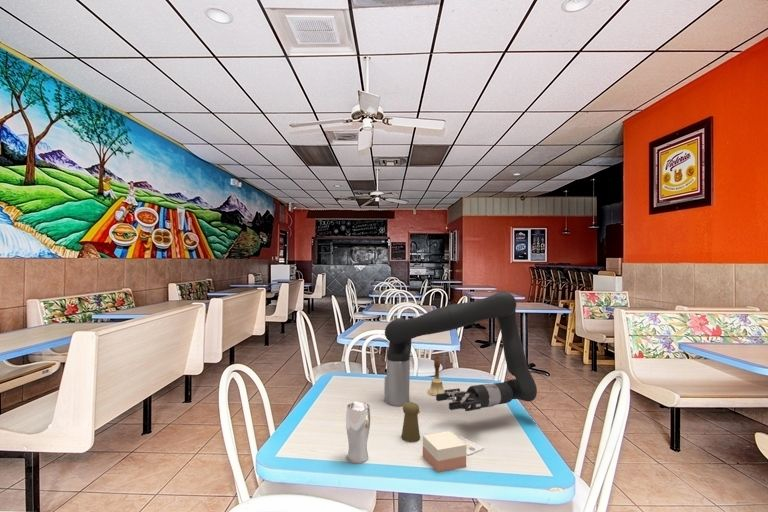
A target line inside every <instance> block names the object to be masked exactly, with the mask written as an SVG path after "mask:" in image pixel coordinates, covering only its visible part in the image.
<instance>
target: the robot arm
mask: <svg viewBox="0 0 768 512" xmlns="http://www.w3.org/2000/svg"><path fill="white" fill-rule="evenodd" d="M516 309H517V299H516V298H515V296H514V295H513V294H511V293H510V292H508V291H503V290H502V291H498V292H496V293H494V294H492V295H490V296H486V297H485V298H481V299H478V300H475V301H469V302H461V303H454V304H449V305H446V306H442V307H438V308H435V309H433V310H430V311H428V312H426V313H424V314H421V315H419V316H416V317H412V318H407V319H405V318H403V317H398V318H395V319H393V320H392V321H390V322H388V324H387V325H386V327H385V330H384V336H385V338H386V340H387V341H389V342H388V350H387V352H386V376H385V377H384V381H383V382H384V386H383V387H384V389H383V391H384V392H383V394H384V396H383V399H384V400H383V402H385V403H387V404H388V405H391V406H395V407H396V406H398V407H399V406H402V407H403V406H404V404H405V403H408V402H410V379H411V378H410V370H411V369H410V366H411V364H410V361H411V351H412V340H413V339H416V338H417V337H421V336H426V335H434V334H439V333H443V332H449V331H453V330H456V329H457V330H458V329H459V328H460V329H461V328H464V327H467V326H469V325H472V324H474V323H477V322H480V321H485V320H489V319H491V320H492V319H497V321H498V324H499V329H500V334H501V335H500V336H501V342H502V349H503V354H504V358H505V364H506V368H507V371H508V373H509V374H511V375H512V376H514V377H515V378H514V379H508V380H505V381H503V382H496V383H483V384H476V385H470V386H469V387H468V388H467V389H466V390H461V389H460V388H459V387H458V388H451V389H450V388H449V389H444V393H442V394H437V395H436V396H435V400H436V401H437V402H442V401H450V402H449V403H448V409H449V410H450V411H454V410H463V411H464V412H471V411H476V410H480V409H484V408H491V407H494V406H498V405H503V404H508V403H510V402H511V401H512V400H518V401H519V400H520V401H524V402H533V401H534V400H535V399H536V397H537V396H538V395H537V394H538V389H537V388H538V387H537V384H536V381H535V380H534V377H533V375H532V374H531V373H532V372H531V371H530V370H529V367H528V363H527V360H526V354H525V350H524V347H523V344H522V340H521V336H520V333H519V329H518V323H517V314H516Z"/></svg>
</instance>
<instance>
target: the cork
mask: <svg viewBox="0 0 768 512" xmlns="http://www.w3.org/2000/svg"><path fill="white" fill-rule="evenodd" d="M402 411H403V415H404V416H403V425H402V430H401V437H400V439H402V440H403V442H406V443H416V442H419V441H420V440H421V437H420V436H421V435H420V434H421V433H420V427H419V425H420V424H419V417H418V416H419V415H418V414H419V413H420V407H419V404H418V403H416V402H413V401H412V402H411V401H409V402H408V403H405V404H404V405H403V406H402Z"/></svg>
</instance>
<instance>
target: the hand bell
mask: <svg viewBox="0 0 768 512" xmlns="http://www.w3.org/2000/svg"><path fill="white" fill-rule="evenodd" d="M433 367H434V378H433V379H431V384H430V388H429V389H427V391H426V392H427V394H428V395H430V396H432V397H436V395H437V394H442V393H444V390H445V388H444V385H443V381H442V380H441V379H440V374H439V373H440V367H441V360H440V356H439V355H435V357H434V360H433Z"/></svg>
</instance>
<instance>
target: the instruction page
mask: <svg viewBox="0 0 768 512" xmlns="http://www.w3.org/2000/svg"><path fill="white" fill-rule="evenodd" d="M457 437H458V438H459V439H460V440H461V441H462V442H464V443H465V444H466V456H468V457H469V456H472V455H473V454H476V453H478V452H480V451H483V450H485V448H484V447H483V446H481V445H478V444H477V443H474V442H473V441H470V440H469V439H467V438H464V437H463V436H461V435H458V436H457Z"/></svg>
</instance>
